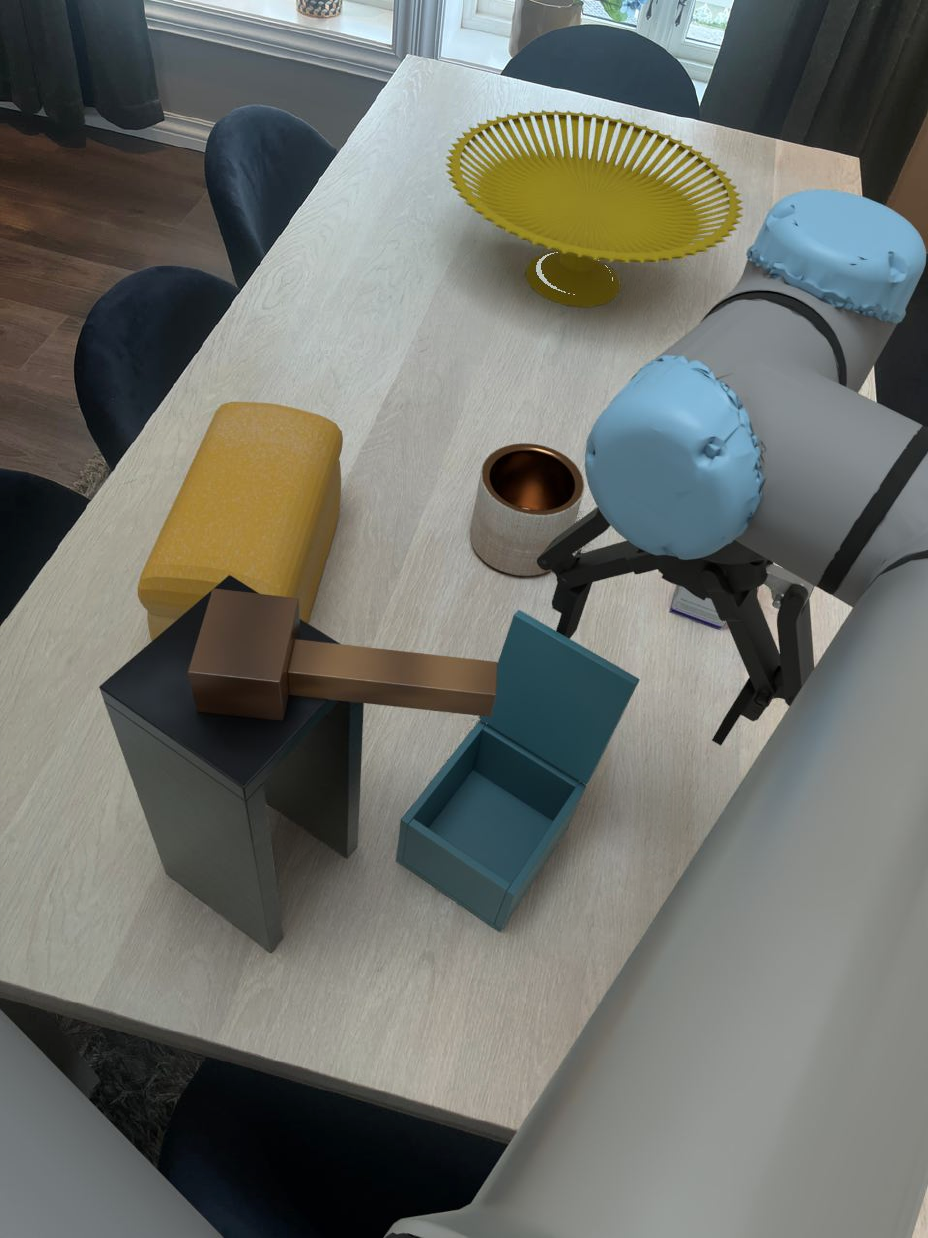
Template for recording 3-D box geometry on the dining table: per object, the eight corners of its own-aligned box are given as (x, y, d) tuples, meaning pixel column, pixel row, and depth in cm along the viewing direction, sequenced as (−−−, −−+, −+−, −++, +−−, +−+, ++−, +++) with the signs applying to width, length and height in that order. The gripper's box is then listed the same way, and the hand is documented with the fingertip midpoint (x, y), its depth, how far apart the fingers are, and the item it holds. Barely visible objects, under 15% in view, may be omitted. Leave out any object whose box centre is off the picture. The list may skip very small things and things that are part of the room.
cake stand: (376, 269, 131) (380, 163, 120) (545, 180, 153) (563, 83, 141) (608, 405, 118) (638, 301, 106) (757, 288, 139) (796, 190, 128)
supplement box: (722, 631, 97) (762, 558, 88) (668, 612, 98) (701, 537, 89) (732, 593, 100) (771, 519, 91) (679, 574, 101) (713, 499, 92)
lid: (636, 684, 66) (640, 678, 67) (513, 614, 69) (518, 609, 70) (586, 785, 74) (590, 779, 75) (478, 718, 77) (483, 713, 78)
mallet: (196, 712, 53) (187, 672, 50) (219, 629, 57) (212, 587, 54) (489, 743, 54) (498, 706, 51) (493, 660, 58) (502, 621, 55)
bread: (227, 490, 102) (214, 378, 90) (344, 509, 102) (345, 400, 90) (154, 670, 86) (125, 563, 75) (290, 692, 86) (283, 589, 75)
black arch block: (271, 953, 72) (243, 789, 51) (165, 873, 75) (98, 686, 54) (358, 846, 78) (366, 659, 57) (257, 776, 81) (229, 573, 60)
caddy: (500, 933, 75) (514, 896, 69) (395, 860, 77) (400, 819, 71) (568, 827, 81) (587, 785, 75) (469, 764, 84) (480, 718, 78)
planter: (448, 534, 101) (457, 469, 94) (518, 492, 106) (532, 428, 99) (518, 595, 97) (533, 532, 89) (587, 549, 102) (607, 485, 95)
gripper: (965, 538, 52) (812, 735, 68) (580, 355, 59) (526, 574, 75) (930, 622, 48) (776, 810, 64) (519, 413, 54) (476, 632, 71)
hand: (641, 683), depth 70 cm, fingers open, 13 cm apart
